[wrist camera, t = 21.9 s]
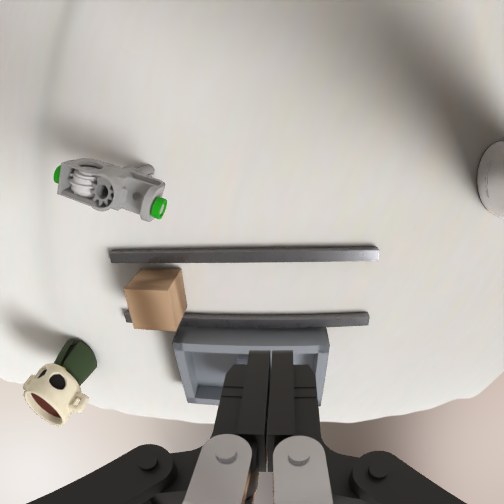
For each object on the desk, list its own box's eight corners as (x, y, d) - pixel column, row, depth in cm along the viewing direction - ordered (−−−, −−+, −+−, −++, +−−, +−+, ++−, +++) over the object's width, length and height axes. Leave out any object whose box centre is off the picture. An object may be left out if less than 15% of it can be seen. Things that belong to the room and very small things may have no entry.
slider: (181, 268, 35) (167, 290, 30) (187, 306, 36) (175, 331, 32) (136, 268, 35) (118, 289, 30) (144, 304, 37) (129, 328, 32)
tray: (325, 326, 36) (329, 345, 33) (318, 387, 41) (320, 406, 37) (179, 325, 38) (172, 342, 35) (192, 385, 42) (187, 402, 39)
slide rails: (376, 246, 32) (379, 250, 31) (366, 320, 36) (368, 325, 35) (113, 250, 35) (109, 253, 34) (129, 318, 38) (126, 322, 37)
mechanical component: (188, 199, 32) (153, 231, 22) (105, 172, 31) (50, 193, 22) (196, 173, 30) (163, 193, 21) (111, 146, 30) (54, 158, 21)
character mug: (107, 343, 41) (66, 406, 29) (115, 376, 43) (82, 437, 31) (51, 327, 41) (6, 378, 29) (62, 360, 44) (24, 411, 32)
